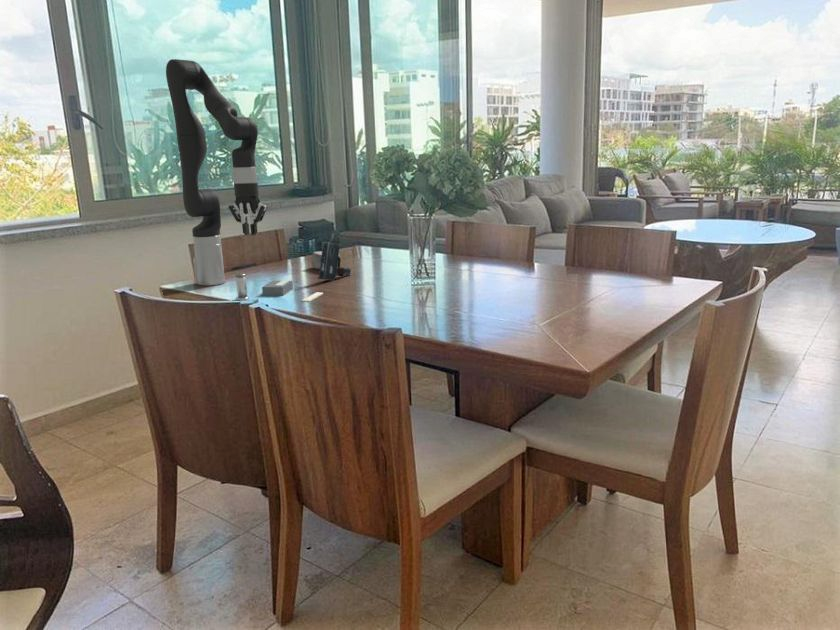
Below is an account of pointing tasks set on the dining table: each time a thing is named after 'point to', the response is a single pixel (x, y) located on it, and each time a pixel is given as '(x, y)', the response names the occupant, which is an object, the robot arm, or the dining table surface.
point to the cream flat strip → (312, 297)
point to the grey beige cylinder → (241, 287)
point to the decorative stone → (317, 260)
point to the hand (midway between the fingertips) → (250, 234)
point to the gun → (331, 261)
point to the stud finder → (277, 288)
